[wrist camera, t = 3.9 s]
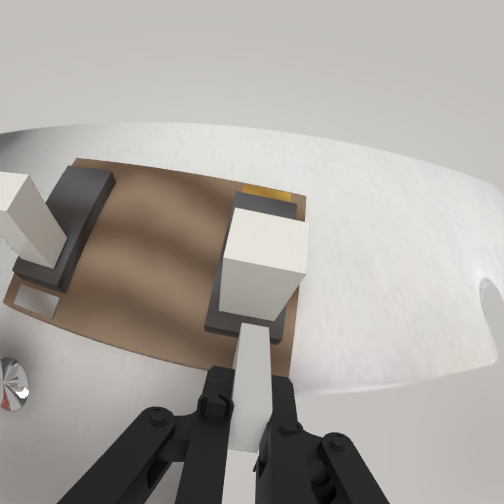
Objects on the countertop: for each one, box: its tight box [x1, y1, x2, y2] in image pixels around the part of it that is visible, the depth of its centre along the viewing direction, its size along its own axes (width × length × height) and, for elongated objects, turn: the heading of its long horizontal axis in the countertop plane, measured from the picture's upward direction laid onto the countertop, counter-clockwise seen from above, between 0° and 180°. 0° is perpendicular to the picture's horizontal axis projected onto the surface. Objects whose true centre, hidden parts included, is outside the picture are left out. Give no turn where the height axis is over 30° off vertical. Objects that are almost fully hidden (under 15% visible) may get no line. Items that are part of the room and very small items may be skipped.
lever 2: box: [219, 208, 310, 321], centre depth 19 cm, size 3×4×8 cm
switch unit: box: [3, 158, 306, 377], centre depth 25 cm, size 18×26×3 cm
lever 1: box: [0, 172, 67, 269], centre depth 18 cm, size 3×4×8 cm
